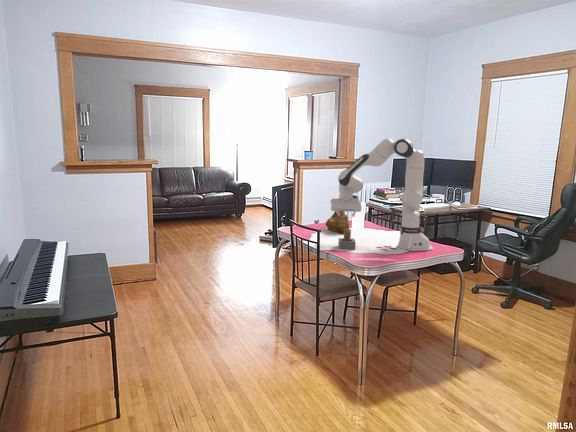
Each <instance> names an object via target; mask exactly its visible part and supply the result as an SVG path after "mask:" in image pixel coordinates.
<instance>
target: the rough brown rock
mask: <svg viewBox="0 0 576 432" xmlns="http://www.w3.org/2000/svg"><path fill="white" fill-rule="evenodd" d="M333 212H334V213H333V214H332V215H331V216H330V217H329V218H328V219H327V220H326V222H325V226H326V228H327V229H328V230H330V231H334V232H335V233H338V234H340V233H341V234H344V229H350V221H349V220H350V219H349V216H348V215H347V214H346V213H345V212H346V211H338V212H339V213H340V216H338V214H337V212H336V211H333Z"/></svg>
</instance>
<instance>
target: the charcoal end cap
mask: <svg viewBox="0 0 576 432" xmlns="http://www.w3.org/2000/svg"><path fill="white" fill-rule="evenodd" d="M356 243H357V242H356V240H355V238H351V239H350V241H344V237H343V238H341V237H338V243H337V245H338V250H339V249H345V250H344V251H356V250H355V246H356Z"/></svg>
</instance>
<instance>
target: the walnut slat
mask: <svg viewBox="0 0 576 432" xmlns="http://www.w3.org/2000/svg"><path fill="white" fill-rule="evenodd" d="M351 234H352V229H351V228H349V229H344V233H343V238H344V241H350V239H352V237H351Z"/></svg>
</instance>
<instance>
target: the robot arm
mask: <svg viewBox="0 0 576 432" xmlns="http://www.w3.org/2000/svg"><path fill="white" fill-rule="evenodd" d="M393 154H396V155H397V156H399V157H402V158H405V159H406V164H405V165H406V166H405V178H404V191H403V192H402V204H401V205H402V207H401V208H402V210H401V211H402V212H401V213H402V215H401V225H400V228H399V235H400V236H399V240H398V244H397V247H398V248H399V249H403V250H407V251H411V252H412V251H413V252H415V251H417V252H418V251H419V252H422V251H433V250H434V247H433V245H431V243H430V239H429V238H428V237H427V236H426V235H425V234H424V233H423V232H424V228H422V227H420V215H421V214H420V205H421V204H422V202H423V196H424V195H423V194H424V192H423V191H424V172H425V154H424V152H423V151H422V150H419V149H415V148H414V145H413V143H412V141H411V140H410V139H408V138H400V139H398V140H397V141H394V140H392V139H390V138H384V139H383V140H381V141H380V142H379V143H378V144H377V145H376V146H375V148H373V149H372V150H371V151H370V152H368V153H365V154H362V155H361V156H359V157H358V159H356V160H355V161H354V162H353V163H351V164H350V165H349V166H348V167H347V168H346V169H345V170H342V172H340V174H339V175H338V183H339V184H338V192H339V195H338V197H339V198H332V199H330V204H331V205H330V210H331V211H332V212H335V211H336V212H337V214H338V216H340V213H339V212H338V211H344V212H349V213H350V212H352V214H351V216H352V217H354V218H355V216H356V213H357V212H358V213H359V212H361V211H362V203H361V201H360V196H358V195H355V194H357V193H359V192H360V191H361V190H362V189H363V187H364V180H363V179H362V178H360V177H358V176H356V175H354V174H355V173H357V171H359V170H360V169H361V168H362V167H364V166H370V167H380V166H382V165H383V164H385V163H386V161H388V159H389V158H390V157H391V156H392V155H393Z"/></svg>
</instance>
